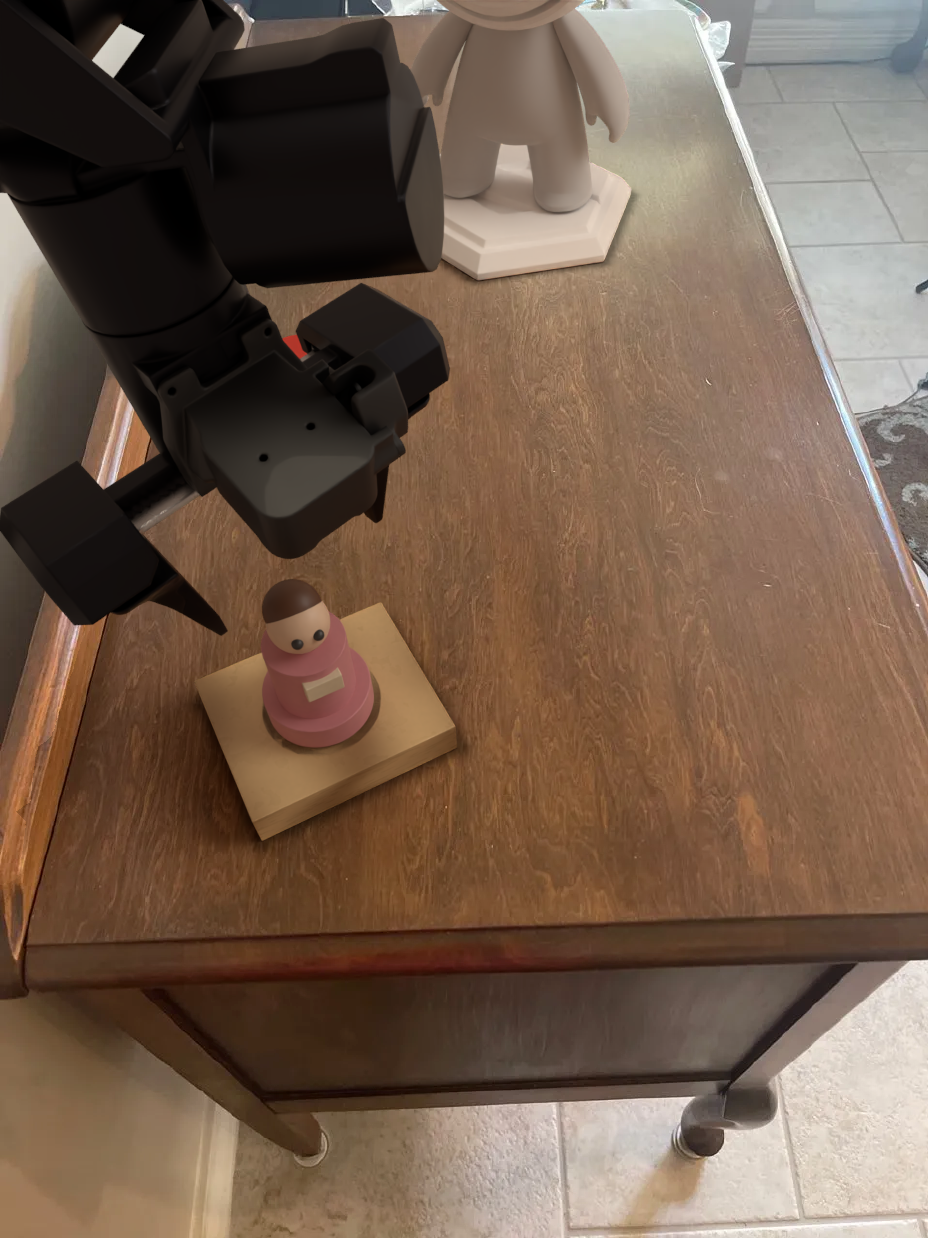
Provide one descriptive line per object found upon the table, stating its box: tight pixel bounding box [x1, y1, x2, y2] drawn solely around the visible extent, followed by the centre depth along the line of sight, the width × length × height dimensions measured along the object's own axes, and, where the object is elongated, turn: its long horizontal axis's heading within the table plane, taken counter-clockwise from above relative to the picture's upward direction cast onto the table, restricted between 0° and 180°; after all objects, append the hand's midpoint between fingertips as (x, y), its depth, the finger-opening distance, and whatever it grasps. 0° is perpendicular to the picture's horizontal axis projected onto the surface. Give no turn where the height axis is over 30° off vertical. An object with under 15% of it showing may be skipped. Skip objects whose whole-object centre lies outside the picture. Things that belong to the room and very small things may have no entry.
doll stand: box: [193, 601, 458, 842], centre depth 53 cm, size 12×10×2 cm
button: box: [282, 334, 307, 359], centre depth 68 cm, size 4×4×2 cm
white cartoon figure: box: [409, 0, 632, 281], centre depth 73 cm, size 20×23×35 cm
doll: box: [260, 578, 374, 748], centre depth 48 cm, size 6×6×10 cm
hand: (299, 571), depth 44 cm, fingers open, 9 cm apart
